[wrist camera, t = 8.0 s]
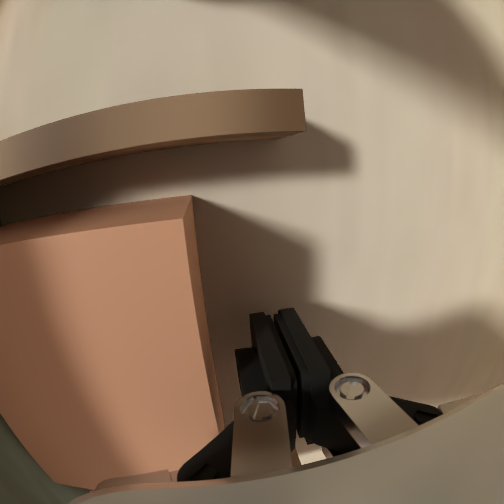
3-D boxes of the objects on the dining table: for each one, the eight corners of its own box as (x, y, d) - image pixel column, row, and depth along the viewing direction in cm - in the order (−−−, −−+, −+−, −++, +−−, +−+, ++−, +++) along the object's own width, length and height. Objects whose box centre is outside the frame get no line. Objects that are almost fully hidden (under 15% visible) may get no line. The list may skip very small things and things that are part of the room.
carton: (192, 194, 11) (182, 218, 6) (223, 413, 14) (233, 491, 10) (7, 223, 10) (-67, 258, 5) (76, 415, 13) (54, 482, 8)
